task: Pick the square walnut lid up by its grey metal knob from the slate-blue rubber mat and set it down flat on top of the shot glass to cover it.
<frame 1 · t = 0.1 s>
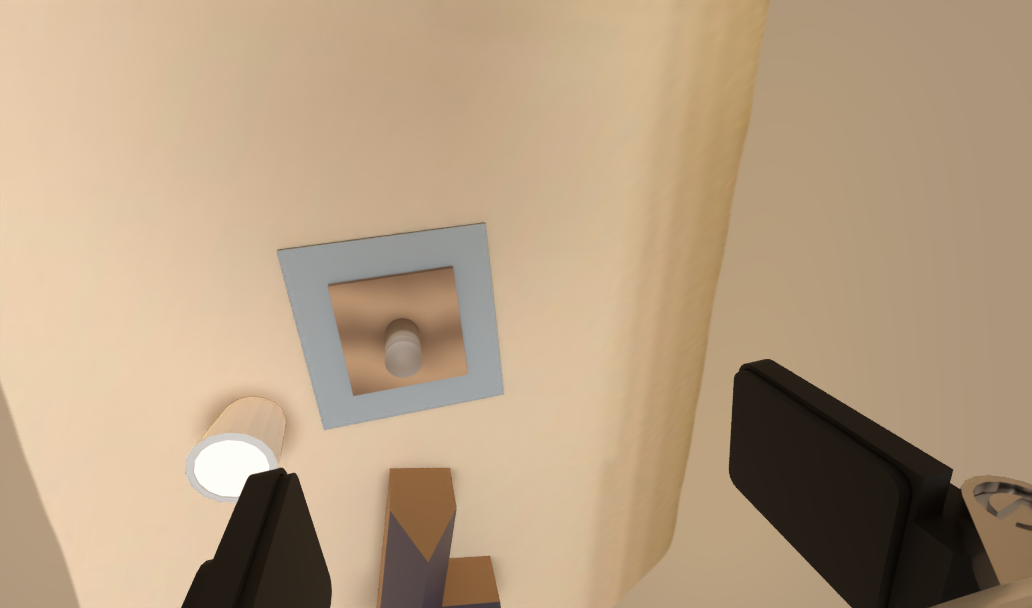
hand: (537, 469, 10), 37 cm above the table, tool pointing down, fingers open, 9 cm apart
lid: (402, 330, 47), resting on mat
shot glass: (254, 421, 47), on the table
toy building blocks: (439, 535, 56), on the table
mat: (402, 328, 47), on the table
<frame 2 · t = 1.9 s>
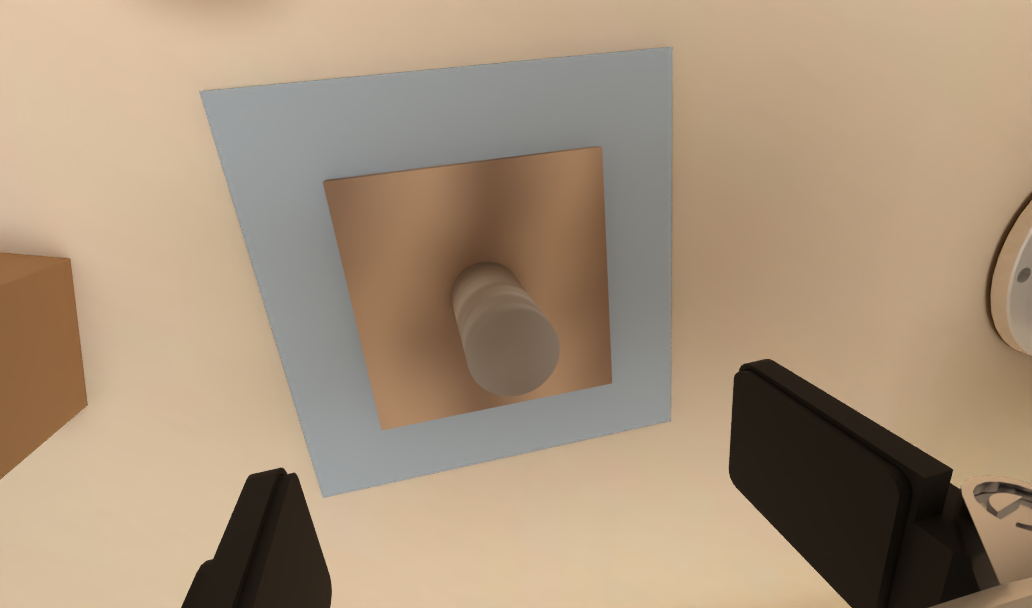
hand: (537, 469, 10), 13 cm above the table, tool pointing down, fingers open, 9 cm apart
lid: (483, 290, 22), resting on mat
mat: (482, 287, 22), on the table
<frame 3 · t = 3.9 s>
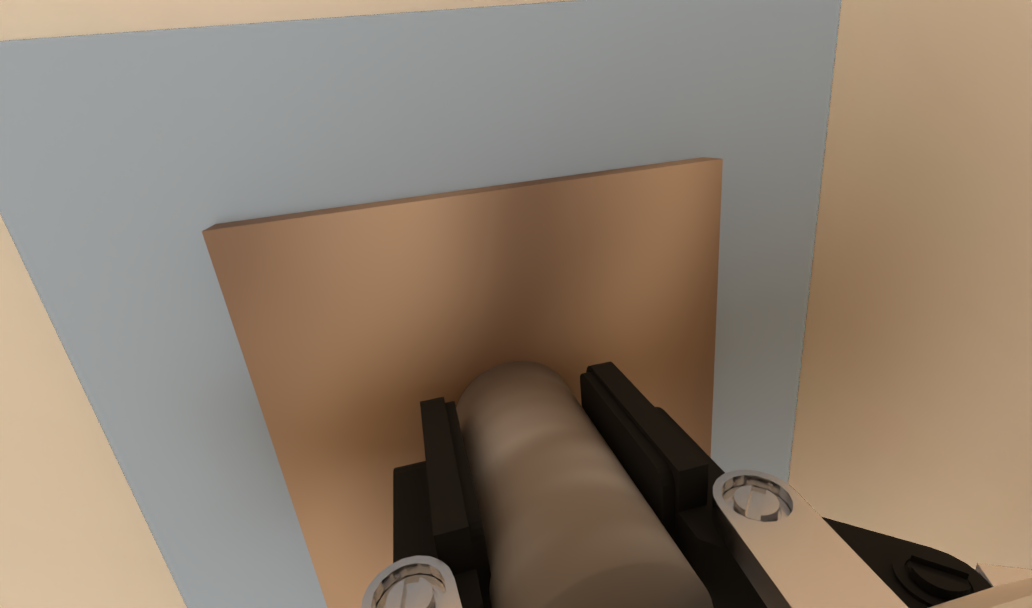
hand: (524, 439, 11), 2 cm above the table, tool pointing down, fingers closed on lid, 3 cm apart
lid: (508, 399, 13), resting on mat, touching gripper
mat: (504, 392, 13), on the table
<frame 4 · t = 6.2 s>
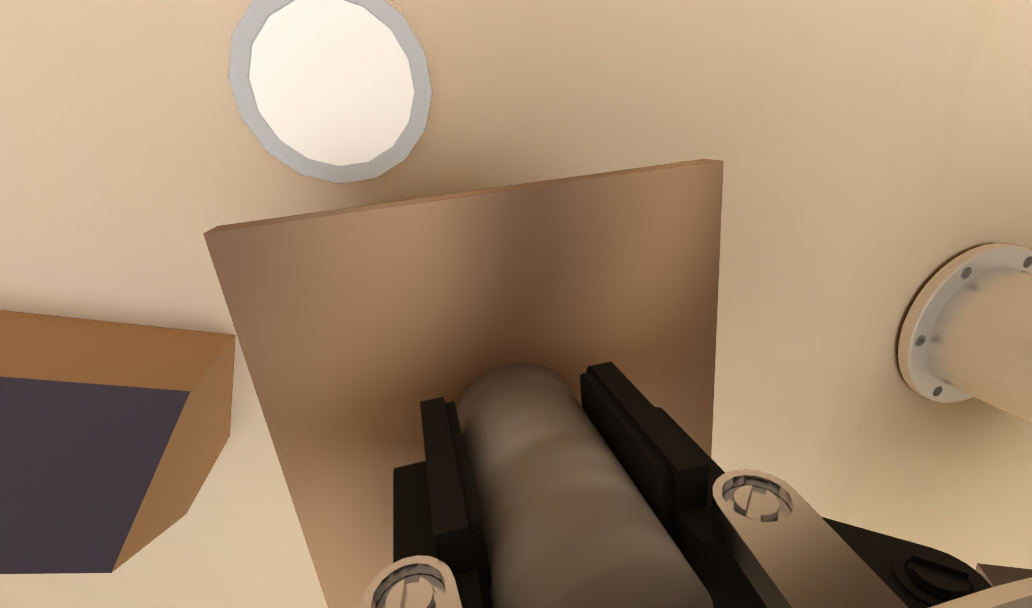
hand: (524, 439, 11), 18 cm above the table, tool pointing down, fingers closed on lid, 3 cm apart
lid: (508, 401, 13), point 16 cm above the table, touching gripper
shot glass: (352, 97, 24), on the table
toy building blocks: (31, 422, 26), on the table
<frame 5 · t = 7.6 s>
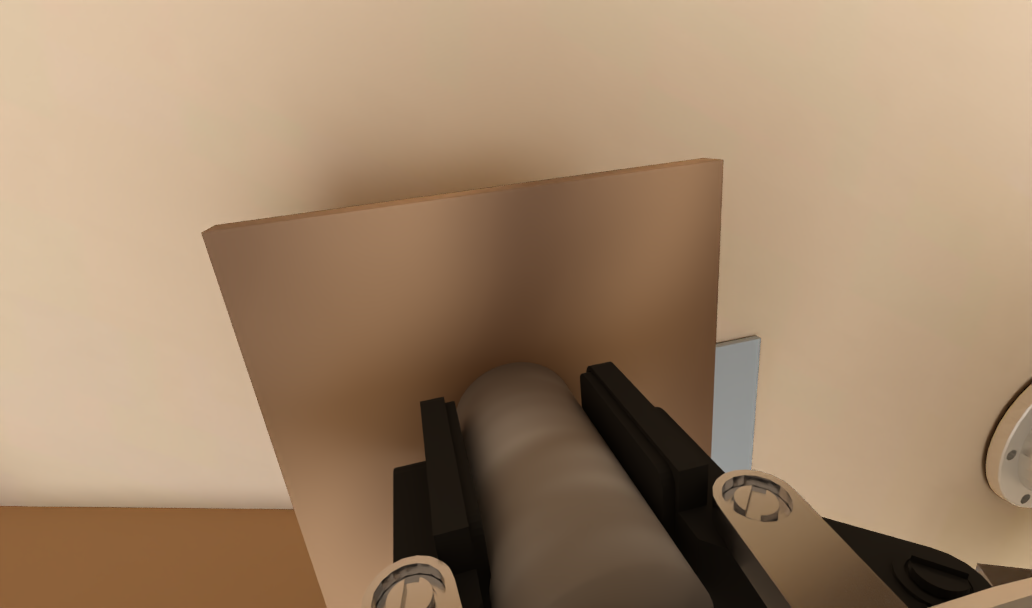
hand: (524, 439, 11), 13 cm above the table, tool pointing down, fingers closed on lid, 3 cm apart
lid: (508, 401, 13), point 11 cm above the table, touching gripper
toy building blocks: (137, 604, 25), on the table
mat: (614, 499, 30), on the table
when the fingers open (10 cm above the table, at t = 8.7 s): lid drops 2 cm, resting on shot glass.
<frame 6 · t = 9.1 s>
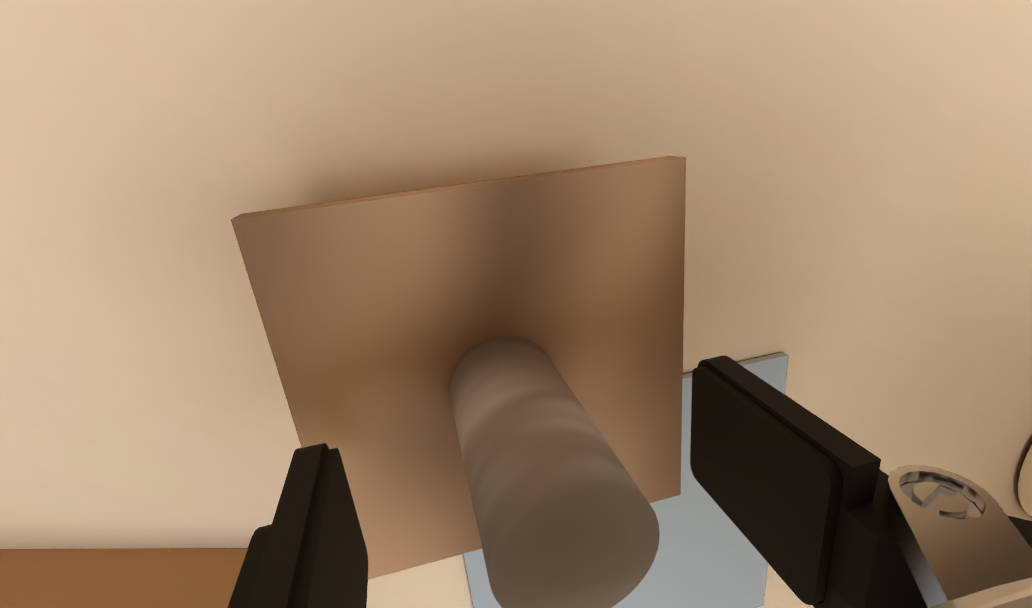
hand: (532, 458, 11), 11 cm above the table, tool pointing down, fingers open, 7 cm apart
lid: (497, 373, 14), point 7 cm above the table, touching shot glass
mat: (627, 529, 27), on the table
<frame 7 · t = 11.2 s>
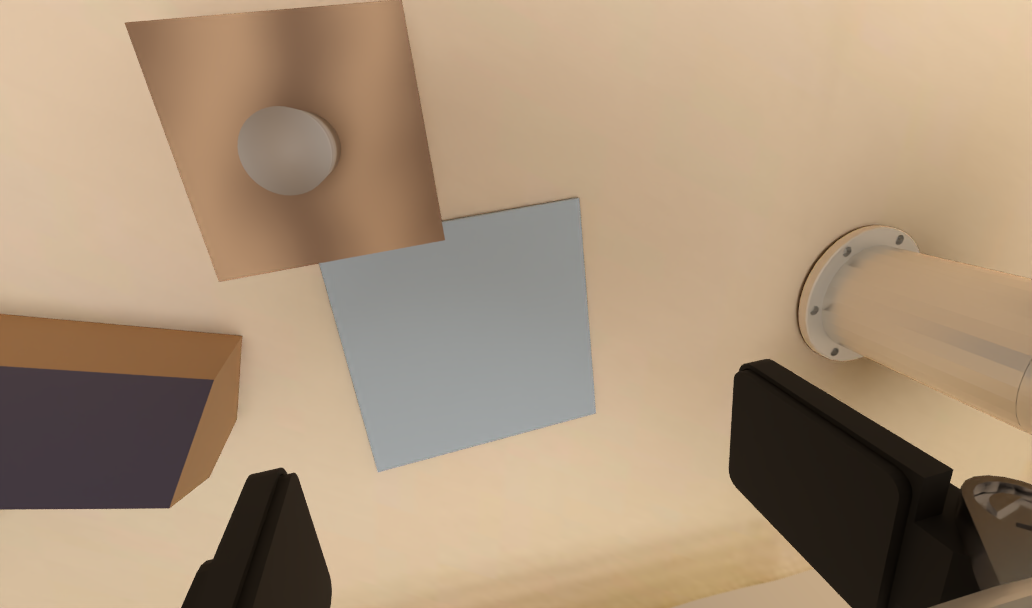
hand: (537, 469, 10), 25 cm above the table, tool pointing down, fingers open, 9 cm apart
lid: (308, 145, 24), point 7 cm above the table, touching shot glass
toy building blocks: (72, 409, 31), on the table
mat: (473, 338, 37), on the table
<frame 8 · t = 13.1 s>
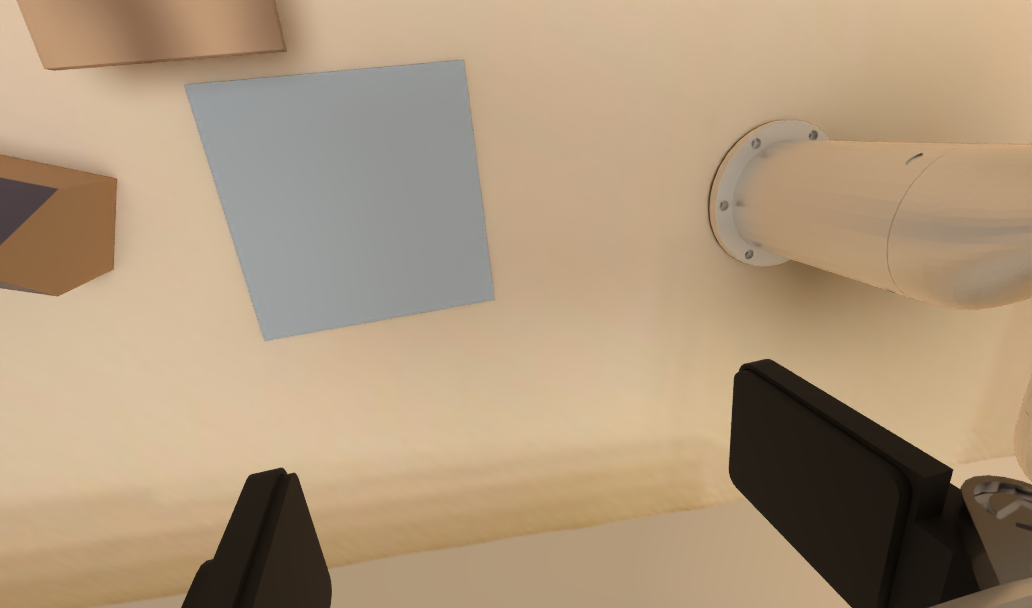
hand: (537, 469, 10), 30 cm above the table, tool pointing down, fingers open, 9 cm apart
mat: (360, 205, 37), on the table
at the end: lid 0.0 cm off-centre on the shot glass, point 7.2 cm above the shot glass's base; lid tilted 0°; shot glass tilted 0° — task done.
